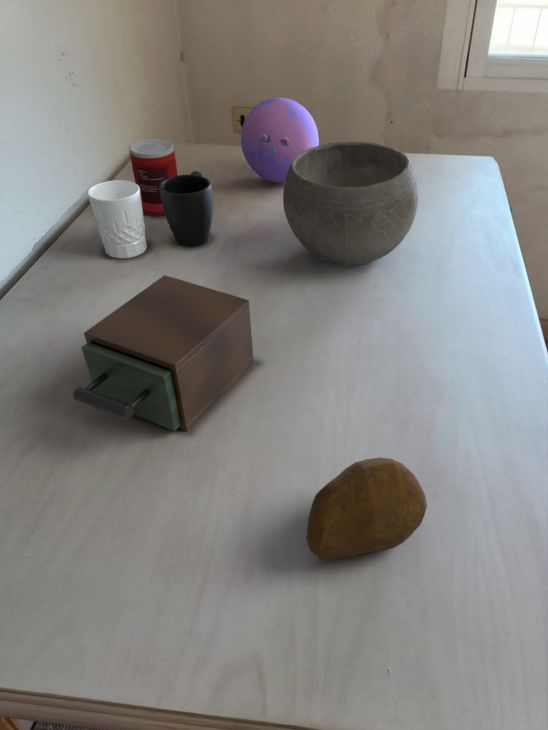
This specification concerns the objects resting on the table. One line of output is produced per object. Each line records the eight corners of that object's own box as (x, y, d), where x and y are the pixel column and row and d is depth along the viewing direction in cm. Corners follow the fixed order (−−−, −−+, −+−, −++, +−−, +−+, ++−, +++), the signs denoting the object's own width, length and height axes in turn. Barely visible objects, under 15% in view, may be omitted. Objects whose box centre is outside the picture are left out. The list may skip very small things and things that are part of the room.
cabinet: (187, 431, 72) (175, 365, 66) (102, 398, 76) (83, 332, 70) (253, 363, 82) (249, 299, 75) (175, 337, 86) (164, 274, 79)
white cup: (110, 265, 100) (96, 204, 94) (95, 245, 105) (81, 186, 99) (157, 253, 104) (146, 193, 97) (141, 234, 108) (129, 176, 102)
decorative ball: (239, 194, 121) (232, 110, 111) (248, 165, 132) (243, 86, 122) (316, 196, 121) (317, 112, 111) (319, 166, 132) (320, 88, 122)
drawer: (149, 457, 68) (135, 402, 63) (69, 423, 72) (50, 369, 66) (239, 367, 80) (234, 314, 75) (167, 342, 84) (157, 291, 78)
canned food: (168, 195, 121) (159, 135, 113) (190, 209, 116) (182, 147, 109) (132, 205, 117) (120, 144, 109) (153, 220, 112) (142, 157, 105)
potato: (293, 509, 64) (291, 449, 58) (403, 489, 66) (412, 429, 60) (312, 579, 58) (312, 519, 52) (433, 553, 60) (446, 494, 54)
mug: (227, 221, 113) (222, 167, 106) (209, 252, 104) (203, 196, 97) (182, 217, 113) (174, 164, 107) (161, 248, 105) (152, 192, 98)
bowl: (266, 270, 100) (261, 175, 90) (310, 216, 114) (310, 129, 104) (394, 293, 95) (404, 196, 85) (423, 234, 109) (434, 145, 99)
